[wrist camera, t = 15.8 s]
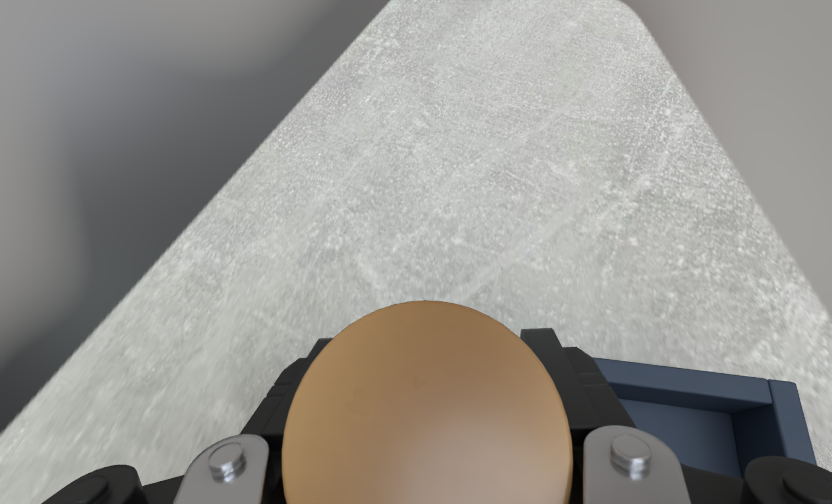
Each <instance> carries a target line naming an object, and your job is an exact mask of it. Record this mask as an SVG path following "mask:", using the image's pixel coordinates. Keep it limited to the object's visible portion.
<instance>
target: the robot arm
mask: <svg viewBox="0 0 832 504" xmlns="http://www.w3.org/2000/svg"><path fill="white" fill-rule="evenodd" d="M332 339H333V338H321V339H319V340H318V341H317V342H316V344H315V346H314V347H313V349H312V350H311V352H310V354H309V355H308V357H307V358H299V359H298V360H296V361H295V362H294V363H292V364H291V365H290V366H288V367H287V368H286V369H284V370H283V372H282V373H281V375H280V376H279V377H278V379H277V380H276V382H275V383H274V384H275V385H274V386H272V388H271V389H270V391H269V392H268V394H267V397H266V398H264V399H263V401H262V402H261V404H260V405H259V407H258V408H257V410H256V411H255V412H254V414H253V415H252V417H251V418H250V420H249V421H248V423H247V424H246V426H245V427H244V428H243V430H242V431H241V433H240V434H239V435H235V436H232V437H228V438H226V439H223V440H221V441H219V442H217V443H215V444H213V445H211V446H210V447H208V448H207V449H205V450H204V451H203V452H201V453H200V454H199V455H198V456H197V457H196V458H195V459H194V460H193V461H192V463H191V464H190V465H189V467H188V469H187V471H186V473H185V475H182V476H179V477H175V478H171V479H167V480H164V481H160V482H156V483H152V484H149V485H145V486H142V484H141V482H140V479H139V476H138V473H137V471H136V469H135V468H134V467H131V466H129V465H113V466H108V467H104V468H101V469H98V470H95V471H93V472H90V473H88V474H86V475H84V476H82V477H80V478H78V479H77V480H75V481H73V482H71V483H70V484H68V485H67V486H65V487H64V488H62V489H61V490H60V491H58V492H57V493H56V494H54V495H53V496H51V497H50V498H49V499H47V500H46V501H44V502H43V503H42V504H287V503H286V499H285V495H284V487H283V478H282V446H283V438H284V430H285V426H286V421H287V417H288V413H289V410H290V407H291V404H292V401H293V398H294V395H295V393H296V391H297V389H298V387H299V385H300V383H301V380H302V378H303V377H304V375H305V373H306V372H307V370H308V369H309V367H310V365H311V364H312V362H313V361H314V360H315V358H316V357H317V356H318V355H319V353H320V352H321V351H322V350H323V348H324V347H325V346H326V345H327V344H328V343H329V342H330V341H331V340H332ZM520 339H521V340H522V341H523V342H524V343H525V344H526V345H527V346H528V347H529V348H530V349H531V350H532V351H533V352H534V354H535V355H536V356H537V357H538V359H539V360H540V361H541V362H542V364H543V365H544V367H545V369H546V370H547V372H548V374H549V375H550V377H551V378H552V380H553V382H554V384H555V387H556V389H557V391H558V393H559V395H560V397H561V400H562V403H563V406H564V409H565V412H566V415H567V418H568V424H569V429H570V434H571V439H572V451H573V479H572V488H571V494H570V500H569V504H832V472H830V471H828V470H826V469H823V468H821V467H819V466H816V465H813V464H811V463H808V462H805V461H801V460H797V459H794V458H788V457H782V456H764V457H759V458H756V459H754V460H752V461H751V462H749V463H748V465H747V467H746V470H745V476H744V479H742V478H737V477H733V476H728V475H723V474H719V473H714V472H710V471H705V470H701V469H697V468H693V467H690V466H687V465H684V464H682V463H680V462H679V460H678V458H677V456H676V455H675V453H674V452H673V451H672V450H671V449H670V448H669V447H668V446H667V445H666V444H665V443H664V442H662V441H661V440H659V439H658V438H656V437H655V436H653V435H651V434H649V433H647V432H644V431H642V430H639V429H638V428H637V427H636V425H635V424H634V422H633V421H632V419H631V417H630V416H629V414H628V413H627V411H626V409H625V408H624V406H623V405H622V403H621V402H620V400H619V398H618V397H617V395H616V394H615V392H614V391H613V389H612V387H610V386H609V383H608V381H607V380H606V378H605V376H604V375H602V372H601V370H600V369H599V367H598V365H597V364H596V362H595V361H594V359H593V358H592V357H591V356H589V355H588V354H586V353H585V352H583V351H582V350H580V349H579V348H577V347H563V348H562V346H561V344H560V342H559V340H558V338H557V336H556V334H555V332H554V330H553V329H552V328H539V329H522V330H521V336H520Z"/></svg>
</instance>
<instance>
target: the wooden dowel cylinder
mask: <svg viewBox="0 0 832 504" xmlns="http://www.w3.org/2000/svg"><path fill="white" fill-rule="evenodd" d="M282 478H283V487H284V495H285V499H286V503H287V504H569V500H570V494H571V488H572V479H573V451H572V439H571V434H570V429H569V424H568V418H567V415H566V412H565V409H564V406H563V403H562V400H561V397H560V395H559V393H558V391H557V389H556V387H555V384H554V382H553V380H552V378H551V377H550V375H549V374H548V372H547V370H546V369H545V367H544V365H543V364H542V362H541V361H540V360H539V359H538V357H537V356H536V355H535V354H534V352H533V351H532V350H531V349H530V348H529V347H528V346H527V345H526V344H525V343H524V342H523V341H522V340H521V339H520V338H519V337H518V336H517V335H516V334H515V333H513V332H512V331H511V330H510V329H508V328H507V327H506V326H504V325H503V324H502V323H500V322H498V321H497V320H495V319H493V318H492V317H490V316H488V315H486V314H484V313H481V312H479V311H477V310H475V309H472V308H469V307H465V306H462V305H459V304H454V303H449V302H443V301H427V300H424V301H410V302H405V303H400V304H394V305H391V306H388V307H385V308H382V309H379V310H376V311H374V312H372V313H370V314H368V315H366V316H363V317H362V318H360V319H358V320H357V321H355V322H354V323H352V324H350V325H349V326H348V327H346V328H345V329H344V330H343V331H341V332H340V333H339V334H338V335H336V336H335V337H334V338H333V339H332V340H331V341H330V342H329V343H328V344H327V345H326V346H325V347H324V348H323V350H322V351H321V352H320V353H319V355H318V356H317V357H316V358H315V360H314V361H313V362H312V364H311V365H310V367H309V369H308V370H307V372H306V373H305V375H304V377H303V378H302V380H301V383H300V385H299V387H298V389H297V391H296V393H295V395H294V398H293V401H292V404H291V407H290V410H289V413H288V417H287V421H286V426H285V430H284V438H283V446H282Z"/></svg>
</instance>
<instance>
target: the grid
mask: <svg viewBox="0 0 832 504" xmlns="http://www.w3.org/2000/svg"><path fill="white" fill-rule="evenodd" d="M592 358H593V359H594V361H595V362H596V364H597V365H598V367H599V369H600V370H601V372H602V375H604V376H605V378H606V380H607V381H608V383H609V386H610V387H612V389H613V391H614V392H615V394H616V395H617V397H618V398H619V400H620V402H621V403H622V405H623V406H624V408H625V409H626V411H627V413H628V414H629V416H630V417H631V419H632V421H633V422H634V424H635V425H636V427H637V428H638V429H639V430H642V431H644V432H647V433H649V434H651V435H653V436H655V437H656V438H658V439H659V440H661V441H662V442H664V443H665V444H666V445H667V446H668V447H669V448H670V449H671V450H672V451H673V452H674V453H675V455H676V456H677V458H678V460H679V462H680V463H682V464H684V465H687V466H690V467H693V468H697V469H701V470H705V471H710V472H714V473H719V474H723V475H728V476H733V477H737V478H742V479H744V476H745V470H746V467H747V465H748V463H749V462H751V461H752V460H754V459H756V458H759V457H764V456H782V457H788V458H794V459H797V460H801V461H805V462H808V463H811V464H813V465H816V466H817V464H816V460H815V456H814V452H813V448H812V444H811V440H810V437H809V433H808V429H807V425H806V421H805V417H804V413H803V410H802V406H801V402H800V398H799V394H798V390H797V386H796V384H795V383H793V382H788V381H780V380H771V379H769V380H767V379H764V378H756V377H748V376H740V375H732V374H724V373H716V372H708V371H699V370H691V369H683V368H675V367H667V366H659V365H651V364H643V363H634V362H626V361H618V360H610V359H602V358H594V357H592Z"/></svg>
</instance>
